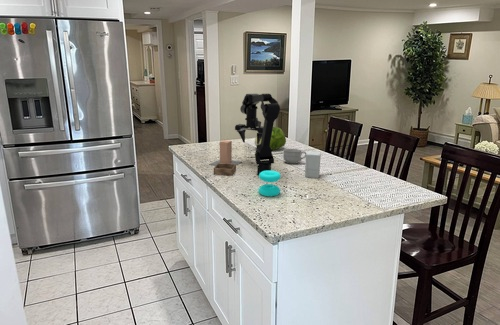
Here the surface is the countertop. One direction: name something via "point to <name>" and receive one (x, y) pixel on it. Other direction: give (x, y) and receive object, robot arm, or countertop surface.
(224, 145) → the terracotta block
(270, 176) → the donuts
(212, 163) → the rubber mat
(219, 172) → the wooden frame
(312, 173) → the supplement box
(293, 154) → the teacup
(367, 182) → the countertop surface
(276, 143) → the lettuce
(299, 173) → the countertop surface
